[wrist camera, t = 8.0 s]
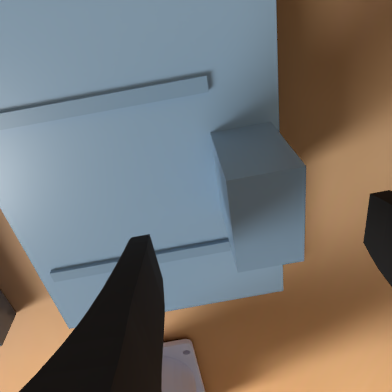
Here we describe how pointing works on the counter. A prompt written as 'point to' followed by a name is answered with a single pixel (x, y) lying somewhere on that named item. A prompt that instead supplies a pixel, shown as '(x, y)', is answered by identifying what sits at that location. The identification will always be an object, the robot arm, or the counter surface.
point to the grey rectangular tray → (5, 317)
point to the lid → (148, 146)
